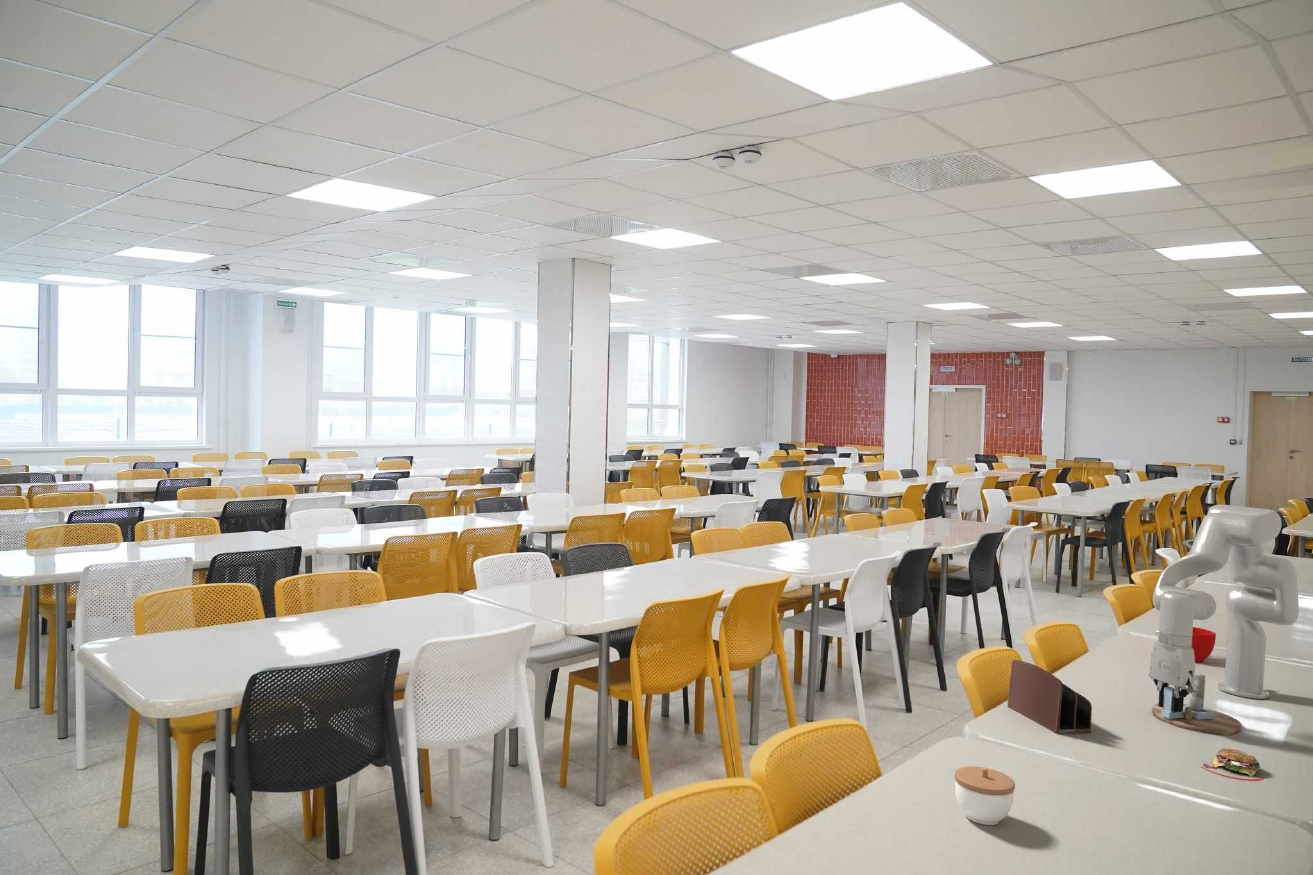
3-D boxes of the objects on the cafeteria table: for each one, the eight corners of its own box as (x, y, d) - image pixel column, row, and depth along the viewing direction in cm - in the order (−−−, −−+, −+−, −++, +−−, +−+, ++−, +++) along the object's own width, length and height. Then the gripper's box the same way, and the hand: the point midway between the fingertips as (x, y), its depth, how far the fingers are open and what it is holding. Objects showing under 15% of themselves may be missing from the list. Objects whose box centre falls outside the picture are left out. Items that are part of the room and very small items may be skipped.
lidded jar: (943, 804, 166) (945, 757, 166) (995, 804, 167) (998, 757, 166) (968, 831, 155) (970, 780, 155) (1023, 831, 156) (1026, 781, 156)
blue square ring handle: (1194, 710, 227) (1196, 682, 227) (1215, 718, 221) (1216, 689, 221) (1155, 712, 223) (1156, 684, 223) (1174, 721, 217) (1176, 692, 217)
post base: (1169, 702, 237) (1172, 659, 237) (1253, 725, 222) (1256, 679, 221) (1139, 715, 225) (1142, 670, 225) (1225, 740, 209) (1228, 691, 209)
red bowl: (1213, 656, 291) (1215, 627, 291) (1214, 667, 277) (1216, 637, 277) (1169, 649, 298) (1171, 621, 298) (1168, 660, 284) (1170, 630, 284)
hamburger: (1201, 752, 202) (1202, 727, 202) (1272, 772, 192) (1274, 745, 192) (1185, 767, 192) (1187, 741, 192) (1259, 788, 182) (1261, 760, 182)
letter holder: (1056, 734, 208) (1060, 678, 208) (1006, 707, 227) (1009, 655, 227) (1091, 733, 210) (1095, 677, 210) (1039, 706, 229) (1042, 654, 229)
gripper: (1137, 631, 227) (1132, 699, 227) (1192, 648, 211) (1188, 721, 211) (1158, 631, 229) (1154, 697, 229) (1215, 647, 213) (1210, 719, 214)
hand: (1170, 708), depth 220 cm, fingers open, 3 cm apart
